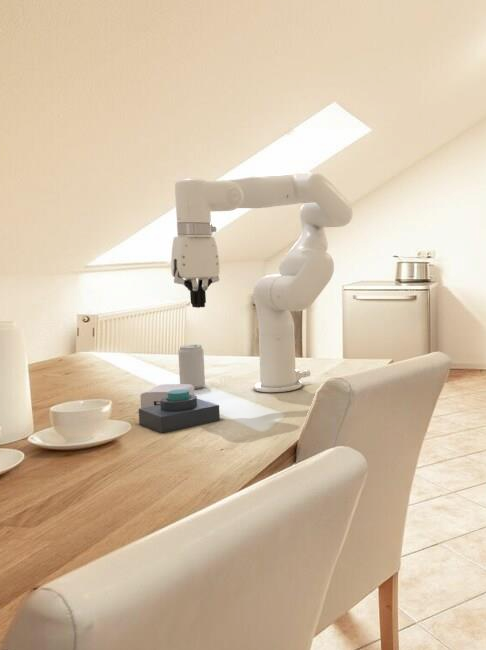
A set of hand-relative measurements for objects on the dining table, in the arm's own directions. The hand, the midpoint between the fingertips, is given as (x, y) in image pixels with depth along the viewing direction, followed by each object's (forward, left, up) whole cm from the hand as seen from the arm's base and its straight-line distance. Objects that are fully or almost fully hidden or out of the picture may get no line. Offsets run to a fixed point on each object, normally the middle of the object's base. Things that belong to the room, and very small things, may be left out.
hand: (198, 306), depth 153 cm
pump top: (+10, +9, -20) cm, 24 cm away
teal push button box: (+10, +9, -25) cm, 28 cm away
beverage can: (-9, -23, -25) cm, 35 cm away
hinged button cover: (+3, -9, -25) cm, 27 cm away
